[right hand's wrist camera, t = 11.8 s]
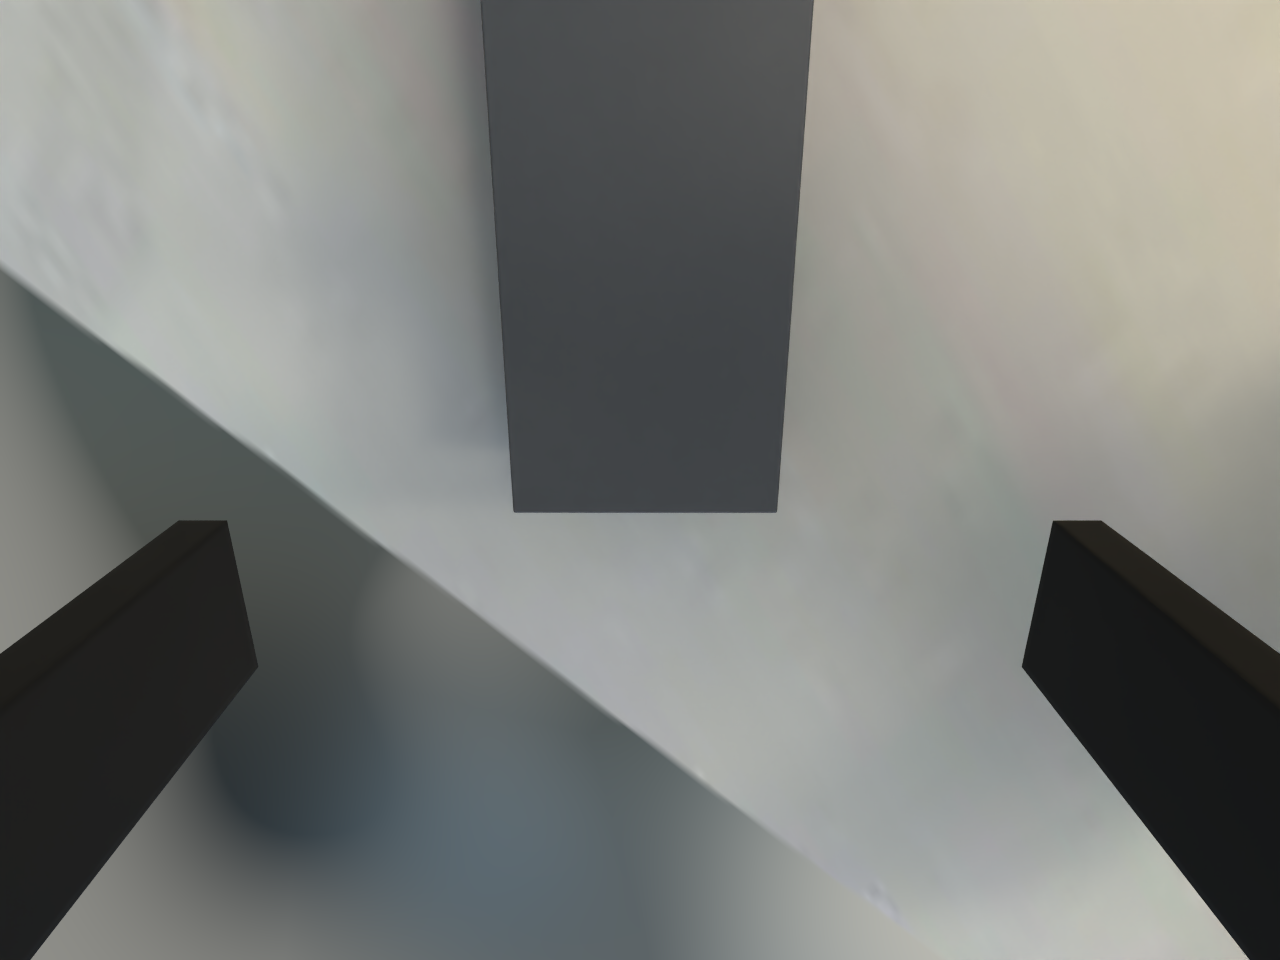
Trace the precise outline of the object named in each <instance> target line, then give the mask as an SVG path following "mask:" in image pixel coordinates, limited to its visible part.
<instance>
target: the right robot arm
mask: <svg viewBox="0 0 1280 960" xmlns="http://www.w3.org/2000/svg"><path fill="white" fill-rule="evenodd" d="M257 668H258V663H257V659H256V654H255V649H254V645H253V640H252V635H251V631H250V626H249V621H248V617H247V612H246V607H245V603H244V598H243V594H242V589H241V584H240V579H239V575H238V570H237V565H236V561H235V556H234V551H233V547H232V542H231V537H230V533H229V528H228V523H227V521H177V522H176V523H175V524H173V525H172V526H171V527H169V528H168V529H167V530H166V531H164V532H163V533H161V534H160V535H159V536H157V537H156V538H155V539H153V540H152V541H151V542H149V543H148V544H147V545H145V546H144V547H143V548H141V549H140V550H139V551H137V552H136V553H135V554H133V555H132V556H131V557H129V558H128V559H127V560H125V561H124V562H123V563H121V564H120V565H119V566H117V567H116V568H115V569H113V570H112V571H111V572H109V573H108V574H107V575H105V576H104V577H103V578H101V579H100V580H99V581H97V582H96V583H95V584H93V585H92V586H91V587H89V588H88V589H86V590H85V591H84V592H82V593H81V594H80V595H78V596H77V597H76V598H74V599H73V600H72V601H71V602H69V603H68V604H67V605H65V606H64V607H62V608H61V609H60V610H58V611H57V612H56V613H54V614H53V615H52V616H50V617H49V618H48V619H46V620H45V621H44V622H42V623H41V624H40V625H38V626H37V627H36V628H34V629H33V630H32V631H30V632H29V633H28V634H26V635H25V636H24V637H22V638H21V639H20V640H18V641H17V642H16V643H14V644H13V645H12V646H10V647H9V648H7V649H6V650H5V651H3V652H2V653H1V654H0V960H31V958H32V957H33V956H34V954H35V953H36V952H37V950H38V949H39V948H40V947H41V945H42V944H43V943H44V942H45V940H46V939H47V938H48V936H49V935H50V934H51V932H52V931H53V930H54V929H55V927H56V926H57V925H58V924H59V922H60V921H61V920H62V918H63V917H64V916H65V915H66V913H67V912H68V911H69V909H70V908H71V907H72V906H73V904H74V903H75V902H76V900H77V899H78V898H79V897H80V895H81V894H82V893H83V891H84V890H85V889H86V888H87V886H88V885H89V884H90V882H91V881H92V880H93V879H94V877H95V876H96V875H97V873H98V872H99V871H100V870H101V868H102V867H103V866H104V864H105V863H106V862H107V861H108V859H109V858H110V857H111V855H112V854H113V853H114V852H115V850H116V849H117V848H118V846H119V845H120V844H121V843H122V841H123V840H124V839H125V837H126V836H127V835H128V834H129V832H130V831H131V830H132V828H133V827H134V826H135V825H136V823H137V822H138V821H139V819H140V818H141V817H142V816H143V814H144V813H145V812H146V810H147V809H148V808H149V807H150V805H151V804H152V803H153V801H154V800H155V799H156V798H157V796H158V795H159V794H160V792H161V791H162V790H163V788H164V787H165V786H166V785H167V783H168V782H169V781H170V780H171V778H172V777H173V776H174V774H175V773H176V772H177V771H178V769H179V768H180V767H181V765H182V764H183V763H184V762H185V760H186V759H187V758H188V756H189V755H190V754H191V753H192V751H193V750H194V749H195V747H196V746H197V745H198V743H199V742H200V741H201V740H202V738H203V737H204V736H205V735H206V733H207V732H208V731H209V729H210V728H211V727H212V726H213V724H214V723H215V722H216V720H217V719H218V718H219V717H220V715H221V714H222V713H223V711H224V710H225V709H226V708H227V706H228V705H229V704H230V702H231V701H232V700H233V699H234V697H235V696H236V695H237V693H238V692H239V691H240V690H241V688H242V687H243V686H244V684H245V683H246V682H247V681H248V679H249V678H250V677H251V675H252V674H253V673H254V672H255V670H256V669H257ZM1022 668H1023V669H1024V670H1025V672H1026V673H1027V674H1028V675H1029V677H1030V678H1031V679H1032V681H1033V682H1034V683H1035V684H1036V686H1037V687H1038V688H1039V690H1040V691H1041V692H1042V693H1043V695H1044V696H1045V697H1046V699H1047V700H1048V701H1049V702H1050V704H1051V705H1052V706H1053V708H1054V709H1055V710H1056V711H1057V713H1058V714H1059V715H1060V717H1061V718H1062V719H1063V720H1064V722H1065V723H1066V724H1067V726H1068V727H1069V728H1070V729H1071V731H1072V732H1073V733H1074V735H1075V736H1076V737H1077V738H1078V740H1079V741H1080V742H1081V744H1082V745H1083V746H1084V747H1085V749H1086V750H1087V751H1088V753H1089V754H1090V755H1091V756H1092V758H1093V759H1094V760H1095V762H1096V763H1097V764H1098V765H1099V767H1100V768H1101V769H1102V771H1103V772H1104V773H1105V774H1106V776H1107V777H1108V778H1109V780H1110V781H1111V782H1112V783H1113V785H1114V786H1115V787H1116V789H1117V790H1118V791H1119V792H1120V794H1121V795H1122V796H1123V798H1124V799H1125V800H1126V801H1127V803H1128V804H1129V805H1130V807H1131V808H1132V809H1133V810H1134V812H1135V813H1136V814H1137V816H1138V817H1139V818H1140V819H1141V821H1142V822H1143V823H1144V825H1145V826H1146V827H1147V828H1148V830H1149V831H1150V832H1151V834H1152V835H1153V836H1154V837H1155V839H1156V840H1157V841H1158V843H1159V844H1160V845H1161V846H1162V848H1163V849H1164V850H1165V852H1166V853H1167V854H1168V855H1169V857H1170V858H1171V859H1172V861H1173V862H1174V863H1175V864H1176V866H1177V867H1178V868H1179V870H1180V871H1181V872H1182V873H1183V875H1184V876H1185V877H1186V879H1187V880H1188V881H1189V882H1190V884H1191V885H1192V886H1193V888H1194V889H1195V890H1196V891H1197V893H1198V894H1199V895H1200V897H1201V898H1202V899H1203V900H1204V902H1205V903H1206V904H1207V906H1208V907H1209V908H1210V909H1211V911H1212V912H1213V913H1214V915H1215V916H1216V917H1217V918H1218V920H1219V921H1220V922H1221V924H1222V925H1223V926H1224V927H1225V929H1226V930H1227V931H1228V933H1229V934H1230V935H1231V936H1232V938H1233V939H1234V940H1235V942H1236V943H1237V944H1238V945H1239V947H1240V948H1241V949H1242V951H1243V952H1244V953H1245V954H1246V956H1247V957H1248V958H1249V960H1280V654H1279V653H1278V652H1277V651H1275V650H1274V649H1273V648H1271V647H1270V646H1268V645H1267V644H1266V643H1264V642H1263V641H1262V640H1260V639H1259V638H1258V637H1256V636H1255V635H1254V634H1252V633H1251V632H1250V631H1248V630H1247V629H1246V628H1244V627H1243V626H1242V625H1240V624H1239V623H1238V622H1236V621H1235V620H1234V619H1232V618H1231V617H1230V616H1228V615H1227V614H1226V613H1224V612H1223V611H1222V610H1220V609H1219V608H1218V607H1216V606H1215V605H1214V604H1212V603H1211V602H1210V601H1208V600H1207V599H1206V598H1204V597H1203V596H1202V595H1200V594H1199V593H1198V592H1196V591H1195V590H1194V589H1192V588H1191V587H1190V586H1188V585H1187V584H1185V583H1184V582H1183V581H1181V580H1180V579H1179V578H1177V577H1176V576H1175V575H1173V574H1172V573H1171V572H1169V571H1168V570H1167V569H1165V568H1164V567H1163V566H1161V565H1160V564H1159V563H1157V562H1156V561H1155V560H1153V559H1152V558H1151V557H1149V556H1148V555H1147V554H1145V553H1144V552H1143V551H1141V550H1140V549H1139V548H1137V547H1136V546H1135V545H1133V544H1132V543H1131V542H1129V541H1128V540H1127V539H1125V538H1124V537H1123V536H1121V535H1120V534H1119V533H1117V532H1116V531H1115V530H1113V529H1112V528H1111V527H1109V526H1108V525H1107V524H1105V523H1104V522H1102V521H1053V523H1052V528H1051V533H1050V537H1049V542H1048V547H1047V551H1046V556H1045V561H1044V565H1043V570H1042V575H1041V579H1040V584H1039V589H1038V593H1037V598H1036V603H1035V607H1034V612H1033V617H1032V621H1031V626H1030V631H1029V635H1028V640H1027V645H1026V649H1025V654H1024V659H1023V663H1022Z"/></svg>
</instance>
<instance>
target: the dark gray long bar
mask: <svg viewBox="0 0 1280 960" xmlns="http://www.w3.org/2000/svg"><path fill="white" fill-rule="evenodd" d="M813 3H814V0H481V13H482V29H483V44H484V60H485V75H486V91H487V107H488V122H489V138H490V153H491V169H492V184H493V200H494V216H495V231H496V247H497V262H498V278H499V293H500V309H501V325H502V340H503V356H504V371H505V387H506V402H507V418H508V433H509V449H510V465H511V480H512V496H513V511H514V512H515V513H776V512H777V506H778V492H779V478H780V464H781V450H782V436H783V422H784V408H785V394H786V380H787V366H788V352H789V338H790V324H791V310H792V296H793V282H794V268H795V254H796V240H797V226H798V212H799V198H800V184H801V170H802V156H803V142H804V128H805V114H806V100H807V86H808V72H809V58H810V44H811V31H812V17H813Z"/></svg>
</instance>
